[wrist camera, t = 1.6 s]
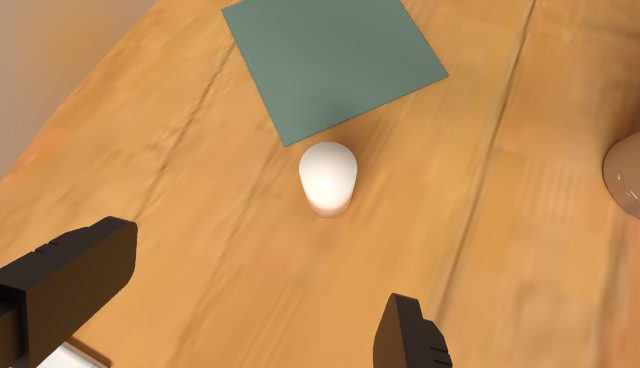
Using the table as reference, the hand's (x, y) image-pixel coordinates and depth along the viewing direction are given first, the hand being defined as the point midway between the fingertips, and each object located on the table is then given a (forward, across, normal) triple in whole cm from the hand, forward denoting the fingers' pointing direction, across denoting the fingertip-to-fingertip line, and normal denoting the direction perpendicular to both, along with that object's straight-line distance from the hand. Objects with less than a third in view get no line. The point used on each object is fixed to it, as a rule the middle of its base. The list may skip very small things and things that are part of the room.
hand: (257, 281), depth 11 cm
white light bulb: (+24, -2, +6) cm, 25 cm away
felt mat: (+35, +3, -9) cm, 36 cm away
